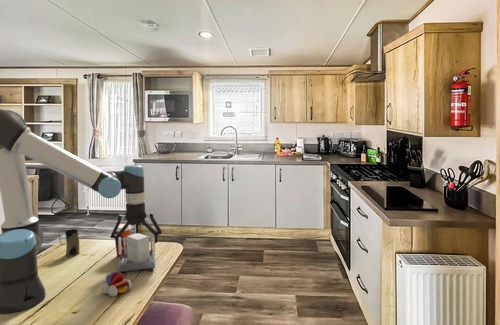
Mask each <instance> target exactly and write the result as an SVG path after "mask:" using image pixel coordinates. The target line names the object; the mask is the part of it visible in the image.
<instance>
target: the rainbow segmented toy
mask: <svg viewBox="0 0 500 325" xmlns="http://www.w3.org/2000/svg"><path fill="white" fill-rule="evenodd" d="M132 285H133V284H132V281H131V280H129V279H128V278H125V274H122V273H120V271H118V270H117V271H112V272H111V273H108V274H107V275H106V276H105V282H103V283H102V284H101V285H100V292H101V293H102V294H104V295H108V296H110V297H111V298H113V297H117V295H118V294H122V293H126V291H129V290H130V289H131V288H132Z"/></svg>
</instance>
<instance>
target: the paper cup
mask: <svg viewBox="0 0 500 325" xmlns="http://www.w3.org/2000/svg"><path fill="white" fill-rule="evenodd" d="M125 224H126V223H120V224H119V226H118V229H117V231H116V233H115V235H117V234H118V232H119V231H120V230H121V229H122V228H123V226H124V225H125ZM115 226H116V225H115ZM115 226H113V230H114V228H115ZM131 229H132V226H131V224H130V225H129V226H128V227H127V228H126V229H125V231H124V232H123V233H122V234H121V236H120V237H121V253H124V243H123V238H127V236H130V235H132V234H131ZM113 230H112V231H113ZM115 250H116V251H115V252H116V258H118V259H120V257H121V255H119V248H118V246H117V247H116V246H115ZM126 252H128V251H127V241H126Z"/></svg>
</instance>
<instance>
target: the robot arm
mask: <svg viewBox="0 0 500 325" xmlns="http://www.w3.org/2000/svg"><path fill="white" fill-rule="evenodd" d="M25 157H27V158H28V159H29V158H30V159H31V160H33V161H35V162H37V163H39V164H42V166H43V165H44V166H46V167H47V168H49V169H51V170H53V171H56V172H57V173H59V174H61V175H63V176H65V177H67V178H69V179H72V180H74V181H76V182H78V183H80V184H82V185H84V186H85V187H88V188H89V189H91V190H93V191H94V192H97V193H98V194H99V195H100V196H102V197H103V198H105V199H114V198H116V197H117V196H119V194H120V193H121V190H124V192H125V193H124V194H125V195H124V196H125V203H126V204H125V214H120V213H119V214H118V215H117V222H116V224H115V228H114V227H113V229H114V230H112V232H111V233H110V234H111V235H110V238H111V239H114V242H115V248H116V247H117V246H118V248H119V255H121V237H120V236H121V234H122V233H123V232H124V231H125V229H126V228H127V227H128V226H129V225H130V226H136V225H137V226H139V225H140V226H141V224H142V225H143V226H145V227H146V229H148V231H149V232H150V233H151V234H152V245H153V252H154V251H155V252H156V244H158V240H159V239H158V236H159V235H162V229H161V227H160V224H158V222H157V219H155V217H154V212H152V211H150V212H149V213H147V212H146V203H145V201H146V198H145V197H146V196H145V195H146V194H145V173H144V167H143V166H142V165H140V164H129V165H125V166H124V167H123V168H124V169H123V170H119V171H118V170H117V171H104V170H103V169H100V168H99V167H97V166H95V165H93V164H91V163H89V162H88V161H86V160H84V159H82V158H80V157H78V156H77V155H74V154H72V153H71V152H70V151H67V150H65V149H63V148H61V147H60V146H57V145H55V144H54V143H52V142H50V141H48V140H47V139H45V138H43V137H41V136H38V134H35V133H34V132H32V130H31V127H29V126H27V122H26V120H25V119H24V118H23V117H22V115H20V114H19V113H18V112H15V111H13V110H10V109H2V108H0V196H1V202H2V210H3V214H4V221H3V223H1V225H0V228H1V229H0V230H1V233H0V314H12V313H17V312H21V311H24V310H28V309H31V308H32V307H34V306H37V305H38V304H40V303H41V302H43V300H45V298H46V289H45V286H44V284H43V283H42V280H41V278H40V276H39V270H38V260H37V258H38V253H39V250H40V248H42V245H43V243H44V231H43V230H42V228H41V225H40V219H39V217H37V216H35V214H34V211H33V205H32V200H31V199H32V198H31V193H30V186H29V179H28V173H27V166H26V159H25ZM146 218H148V219H150V221H151V223H152V225H153V226H154V228H153V226H152V225H151V224H150V223H149V222H148V221H147V220H146ZM124 219H125V220H126V223H124V224H125V225H124V226H123V228H122V229H121V230H120V231H119V232H118V234H117V235H115V233H116V231H117V229H118V226H119V224H121V223H122V221H123V220H124ZM155 229H156V230H155Z"/></svg>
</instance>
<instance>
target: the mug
mask: <svg viewBox="0 0 500 325" xmlns="http://www.w3.org/2000/svg"><path fill="white" fill-rule="evenodd" d="M61 231H64V232H65V241H66V243H62V240H61V234H60V232H61ZM58 237H59V238H58V239H59V243H60V245H61V246H65V245H66V247H65V248H66V251H65V256H66V257H75V256H78V255H79V254H80V236H79V231H78V229H73V228H72V229H68V230H66V229H60V230H59V231H58Z"/></svg>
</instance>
